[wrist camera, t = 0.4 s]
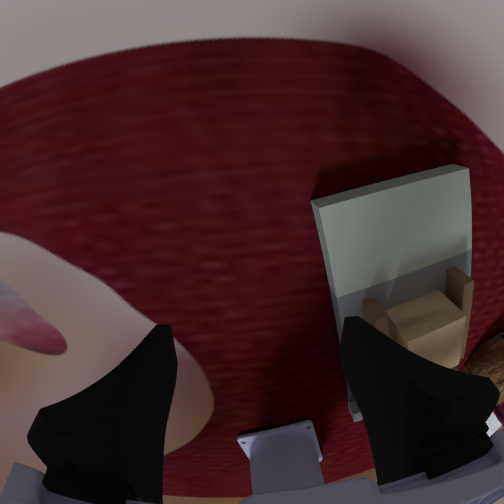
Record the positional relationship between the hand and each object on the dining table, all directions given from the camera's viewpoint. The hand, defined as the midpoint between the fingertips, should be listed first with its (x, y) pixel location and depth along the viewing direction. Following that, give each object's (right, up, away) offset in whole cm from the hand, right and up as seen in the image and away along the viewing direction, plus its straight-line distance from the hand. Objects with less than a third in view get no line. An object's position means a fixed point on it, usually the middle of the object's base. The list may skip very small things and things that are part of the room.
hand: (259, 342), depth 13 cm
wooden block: (+13, -2, +10) cm, 16 cm away
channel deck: (+13, -1, +12) cm, 17 cm away
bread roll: (+29, -10, +17) cm, 35 cm away
